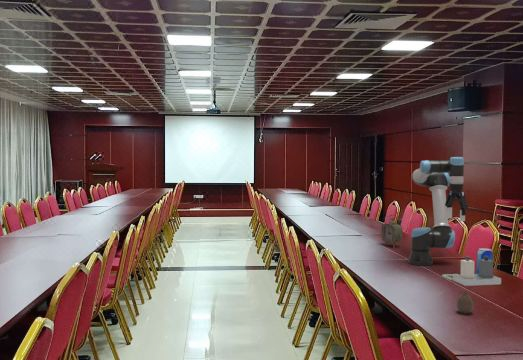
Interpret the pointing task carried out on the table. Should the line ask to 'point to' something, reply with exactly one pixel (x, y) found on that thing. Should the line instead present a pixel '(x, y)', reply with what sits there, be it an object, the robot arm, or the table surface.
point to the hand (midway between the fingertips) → (455, 219)
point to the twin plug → (485, 267)
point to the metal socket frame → (477, 280)
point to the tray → (448, 275)
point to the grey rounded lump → (464, 303)
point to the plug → (467, 268)
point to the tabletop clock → (391, 232)
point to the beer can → (481, 254)
